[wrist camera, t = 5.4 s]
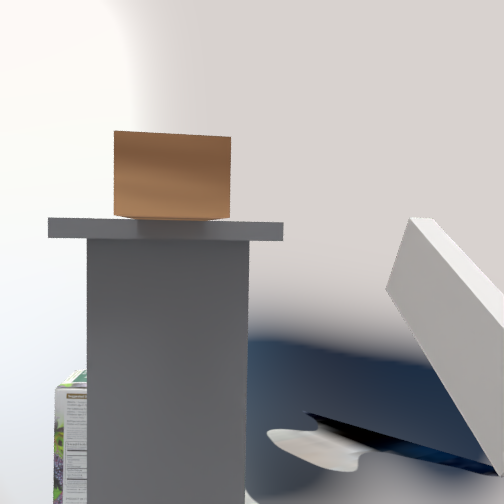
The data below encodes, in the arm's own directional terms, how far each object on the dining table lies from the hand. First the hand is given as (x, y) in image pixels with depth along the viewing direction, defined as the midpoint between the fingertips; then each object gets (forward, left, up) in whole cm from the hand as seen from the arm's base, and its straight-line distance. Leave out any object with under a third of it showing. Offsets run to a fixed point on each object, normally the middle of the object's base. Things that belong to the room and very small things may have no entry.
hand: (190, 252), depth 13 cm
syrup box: (-31, +19, -30) cm, 47 cm away
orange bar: (-10, +9, +1) cm, 14 cm away
